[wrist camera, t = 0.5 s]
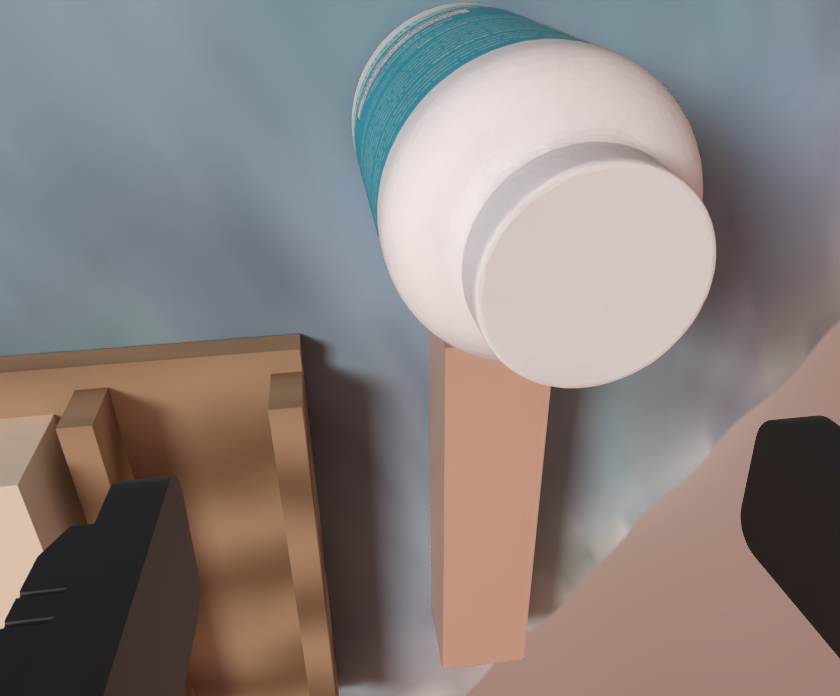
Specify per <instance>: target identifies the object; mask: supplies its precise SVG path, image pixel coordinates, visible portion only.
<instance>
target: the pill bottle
mask: <svg viewBox="0 0 840 696" xmlns="http://www.w3.org/2000/svg"><path fill="white" fill-rule="evenodd" d="M352 135H353V142H354V147H355V152H356V156H357V160H358V164H359V167H360V171H361V175H362V178H363V182H364V186H365V189H366V193H367V197H368V200H369V204H370V208H371V211H372V215H373V219H374V222H375V226H376V230H377V234H378V238H379V242H380V245H381V249H382V252H383V256H384V259H385V262H386V265H387V268H388V271H389V273H390V276H391V279H392V281H393V283H394V285H395V287H396V289H397V291H398V293H399V294H400V296H401V298H402V300H403V301H404V302H405V304H406V305H407V307H408V308H409V309H410V311H411V312H412V313H413V314H414V315H415V316H416V318H417V319H418V320H419V321H420V322H421V323H422V324H423V325H424V326H425V327H426V328H427V329H429V330H430V331H431V332H432V333H433V334H435V335H436V336H437V337H439V338H440V339H442V340H443V341H445V342H446V343H448V344H450V345H451V346H453V347H455V348H457V349H458V350H461V351H463V352H465V353H468V354H470V355H473V356H477V357H480V358H484V359H488V360H493V361H498V362H502V363H503V364H504V365H505V366H507V367H508V368H509V369H510V370H512V371H513V372H515V373H516V374H518V375H519V376H522V377H524V378H526V379H528V380H530V381H533V382H535V383H538V384H541V385H546V386H551V387H558V388H586V387H594V386H598V385H603V384H607V383H610V382H613V381H616V380H619V379H622V378H624V377H627V376H629V375H631V374H634V373H635V372H637V371H639V370H641V369H642V368H644V367H646V366H648V365H649V364H651V363H652V362H654V361H655V360H656V359H658V358H659V357H660V356H662V355H663V354H664V353H665V352H666V351H667V350H669V349H670V348H671V347H672V346H673V345H674V344H675V343H676V342H677V341H678V340H679V339H680V338H681V337H682V335H683V334H684V333H685V332H686V331H687V329H688V328H689V327H690V326H691V324H692V323H693V321H694V320H695V318H696V317H697V315H698V313H699V312H700V310H701V308H702V306H703V304H704V302H705V300H706V298H707V296H708V293H709V290H710V286H711V283H712V279H713V275H714V272H715V264H716V239H715V231H714V227H713V224H712V221H711V218H710V216H709V213H708V211H707V208H706V207H705V205H704V203H703V202H702V199H703V174H702V165H701V159H700V154H699V150H698V146H697V143H696V139H695V136H694V134H693V131H692V128H691V126H690V124H689V122H688V120H687V118H686V116H685V114H684V113H683V111H682V109H681V108H680V106H679V104H678V103H677V102H676V100H675V99H674V97H673V96H672V95H671V93H670V92H669V91H668V90H667V89H666V88H665V86H663V85H662V84H661V83H660V82H659V81H658V80H657V79H656V78H655V77H654V76H652V75H651V74H650V73H649V72H647V71H646V70H645V69H644V68H642V67H641V66H639V65H638V64H636V63H634V62H633V61H631V60H629V59H627V58H625V57H623V56H621V55H619V54H616V53H614V52H612V51H610V50H608V49H605V48H603V47H600V46H597V45H595V44H592V43H590V42H587V41H584V40H582V39H579V38H577V37H574V36H571V35H569V34H566V33H564V32H561V31H559V30H556V29H554V28H551V27H549V26H546V25H543V24H540V23H538V22H535V21H532V20H530V19H527V18H525V17H523V16H520V15H517V14H514V13H512V12H509V11H507V10H504V9H502V8H499V7H495V6H491V5H486V4H481V3H452V4H446V5H441V6H437V7H435V8H432V9H429V10H426V11H424V12H422V13H420V14H418V15H416V16H414V17H412V18H410V19H408V20H407V21H405V22H404V23H403V24H401V25H400V26H399V27H397V28H396V29H395V30H394V31H393V32H391V33H390V34H389V35H388V36H387V37H386V38H385V40H384V41H383V42H382V43H381V44H380V45H379V46H378V48H377V49H376V50H375V52H374V53H373V55H372V56H371V58H370V60H369V61H368V63H367V65H366V66H365V68H364V70H363V73H362V75H361V77H360V80H359V83H358V86H357V89H356V93H355V97H354V102H353V108H352Z"/></svg>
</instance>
